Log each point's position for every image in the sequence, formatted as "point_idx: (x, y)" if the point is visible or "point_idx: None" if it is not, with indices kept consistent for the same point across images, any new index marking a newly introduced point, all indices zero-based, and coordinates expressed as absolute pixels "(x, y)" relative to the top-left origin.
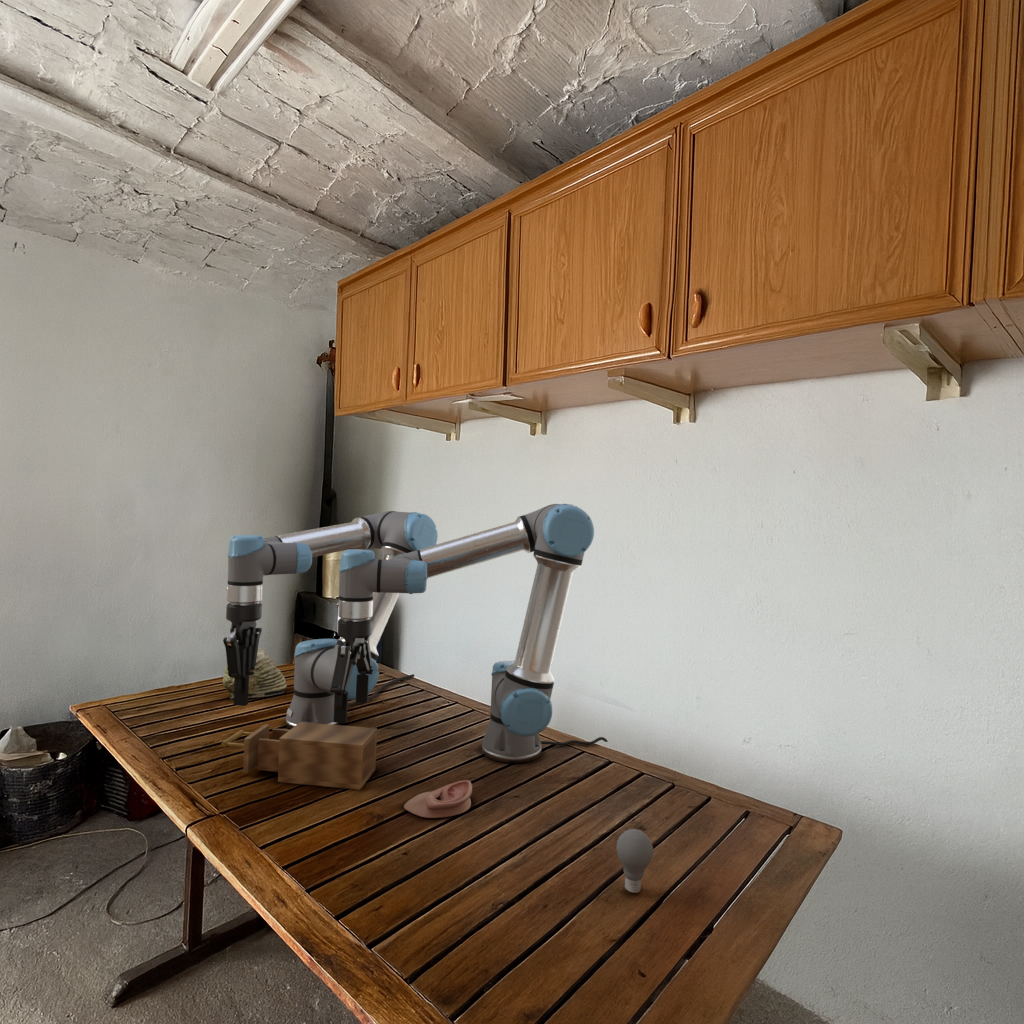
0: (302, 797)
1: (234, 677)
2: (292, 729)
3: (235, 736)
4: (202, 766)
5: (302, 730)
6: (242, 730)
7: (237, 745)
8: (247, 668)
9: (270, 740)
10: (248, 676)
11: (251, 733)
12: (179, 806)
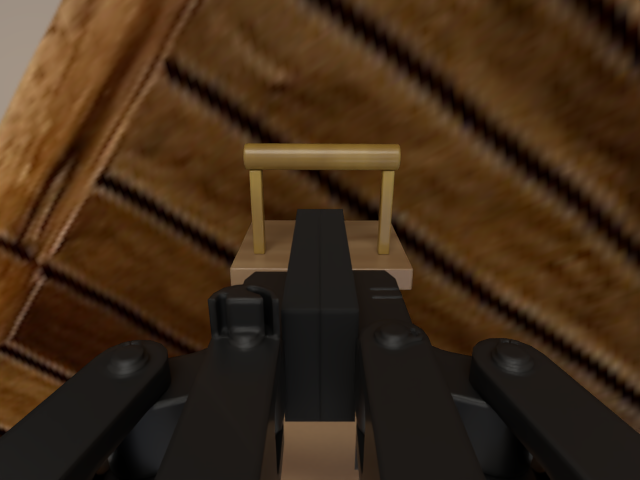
0: None
1: (203, 356)
2: (324, 424)
3: (325, 167)
4: (303, 25)
5: (323, 456)
6: (395, 164)
7: (252, 216)
8: (361, 478)
9: None
10: (344, 419)
11: (380, 212)
12: (24, 135)
